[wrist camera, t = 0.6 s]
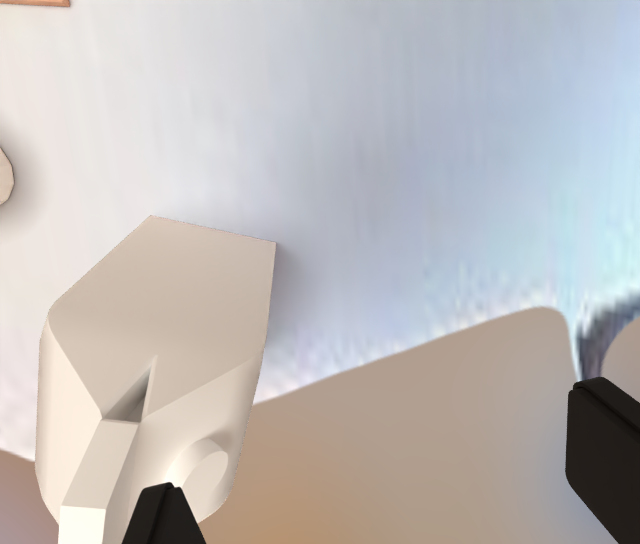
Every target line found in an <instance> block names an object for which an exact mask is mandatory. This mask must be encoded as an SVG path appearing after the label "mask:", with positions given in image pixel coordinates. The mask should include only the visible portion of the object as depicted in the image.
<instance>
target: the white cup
mask: <svg viewBox="0 0 640 544" xmlns="http://www.w3.org/2000/svg"><path fill="white" fill-rule="evenodd" d="M13 185H14V179H13V172H12V166H11V164H10V162H9V161H8V159H7V157H6V156H5V154H4V153H3V151H2V149H1V148H0V205H1V204H2V203H4V202H5V201H6V200H8V198H9V196H10V193H11V191H12V188H13Z"/></svg>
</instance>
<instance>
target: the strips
mask: <svg viewBox="0 0 640 544" xmlns="http://www.w3.org/2000/svg"><path fill="white" fill-rule="evenodd" d="M0 3H6V4H26V5H46V6H66V7H70V5H69V0H0Z"/></svg>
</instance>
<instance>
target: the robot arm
mask: <svg viewBox="0 0 640 544" xmlns="http://www.w3.org/2000/svg"><path fill="white" fill-rule="evenodd" d="M565 469H566V470H565V472H566V477H567V480H568V482H569V484H570V486H571V487H572V489H573V490H574V491H575V492H576V494H577V495H578V496H579V497H580V498H581V499H582V501H583V502H584V503H585V504H586V505H587V507H588V508H589V509H590V510H591V511H592V512H593V514H594V515H595V516H596V517H597V519H598V520H599V521H600V522H601V523H602V524H603V525H604V527H605V528H606V529H607V530H608V531H609V533H610V534H611V535H612V536H613V538H614V539H615V540H616V541H617V542H618V543H619V544H640V403H639V402H638V401H636V400H635V399H633V398H632V397H631V396H629V395H628V394H627V393H625V392H624V391H622V390H621V389H620V388H618V387H617V386H616V385H614V384H613V383H612V382H610V381H609V380H607V379H606V378H604V377H596V378H592V379H588V380H584V381H580V382H576V383H575V384H574V385H573V390H571V391H570V392H569V394H568V416H567V443H566V468H565ZM122 544H206V542H205V540H204V538H203V535H202V533H201V531H200V529H199V527H198V524H197V522H196V520H195V517H194V515H193V513H192V511H191V508H190V506H189V504H188V502H187V499H186V497H185V495H184V493H183V490H182V489H181V487H174V485H173V484H172V483H171V482H166V483H162V484H158V485H154V486H150V487H146V488H144V489H143V490H142V491H141V493H140V495H139V498H138V501H137V503H136V506H135V509H134V511H133V514H132V517H131V519H130V522H129V525H128V527H127V530H126V533H125V535H124V538H123V541H122Z"/></svg>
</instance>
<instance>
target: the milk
mask: <svg viewBox="0 0 640 544" xmlns="http://www.w3.org/2000/svg"><path fill="white" fill-rule="evenodd" d="M275 250H276V242H271V241H267V240H262V239H258V238H253V237H248V236H244V235H239V234H235V233H230V232H225V231H221V230H216V229H212V228H207V227H202V226H198V225H193V224H189V223H184V222H179V221H175V220H170V219H166V218H161V217H156V216H152V215H150V216H149V217H148V218H147V219H146V220H145V221H144V222H142V223H141V224H140V225H139V226H138V227H137V228H136V229H135V230H134V231H133V232H131V233H130V234H129V235H128V236H127V237H126V238H125V239H124V240H123V241H121V242H120V243H119V244H118V245H117V246H116V247H115V248H114V249H113V250H112V251H110V252H109V253H108V254H107V255H106V256H105V257H104V258H103V259H102V260H101V261H99V262H98V263H97V264H96V265H95V266H94V267H93V268H92V269H91V270H90V271H88V272H87V273H86V274H85V275H84V276H83V277H82V278H81V279H80V280H79V281H77V282H76V283H75V284H74V285H73V286H72V287H71V288H70V289H69V290H68V291H66V292H65V293H64V294H63V295H62V296H61V297H60V298H59V299H58V300H57V301H55V303H54V304H53V305H52V307H51V308H50V309H49V312H48V315H47V319H46V322H45V325H44V328H43V331H42V335H41V338H40V346H39V373H38V399H37V426H36V453H35V472H36V476H37V479H38V483H39V487H40V491H41V495H42V499H43V501H44V502H45V504H46V506H47V508H48V509H49V511H50V512H51V514H52V515H53V517H54V518H55V520H56V521H57V523H58V524H59V540H58V544H122V541H123V538H124V535H125V533H126V530H127V527H128V525H129V522H130V519H131V517H132V514H133V511H134V509H135V506H136V503H137V501H138V498H139V495H140V493H141V491H142V490H143V489H144V488H146V487H150V486H154V485H158V484H162V483H166V482H171V483H172V484H173V485H174V487H181V489H182V490H183V493H184V495H185V497H186V499H187V502H188V504H189V506H190V508H191V511H192V513H193V515H194V517H195V520H196V522H197V523H199V522H200V521H202V520H204V519H205V518H207V517H208V516H210V515H211V514H212V513H214V512H215V511H216V510H217V509H218V508H219V507H220V506H222V504H223V503H224V502H225V500H226V499H227V497H228V495H229V493H230V491H231V489H232V487H233V483H234V479H235V474H236V470H237V466H238V462H239V457H240V454H241V449H242V445H243V441H244V437H245V433H246V428H247V424H248V420H249V416H250V412H251V408H252V404H253V399H254V395H255V391H256V387H257V383H258V379H259V374H260V369H261V364H262V359H263V353H264V348H265V343H266V337H267V327H268V317H269V308H270V298H271V289H272V279H273V269H274V260H275Z"/></svg>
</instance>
